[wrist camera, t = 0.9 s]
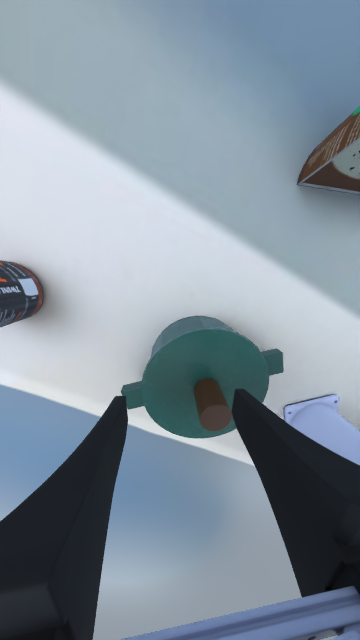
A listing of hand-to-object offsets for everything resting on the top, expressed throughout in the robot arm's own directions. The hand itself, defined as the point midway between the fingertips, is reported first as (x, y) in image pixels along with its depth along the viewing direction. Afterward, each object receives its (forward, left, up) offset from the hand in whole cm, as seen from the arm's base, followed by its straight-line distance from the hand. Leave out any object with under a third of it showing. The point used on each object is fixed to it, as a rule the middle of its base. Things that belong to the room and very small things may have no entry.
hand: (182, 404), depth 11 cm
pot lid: (-3, -2, -5) cm, 6 cm away
